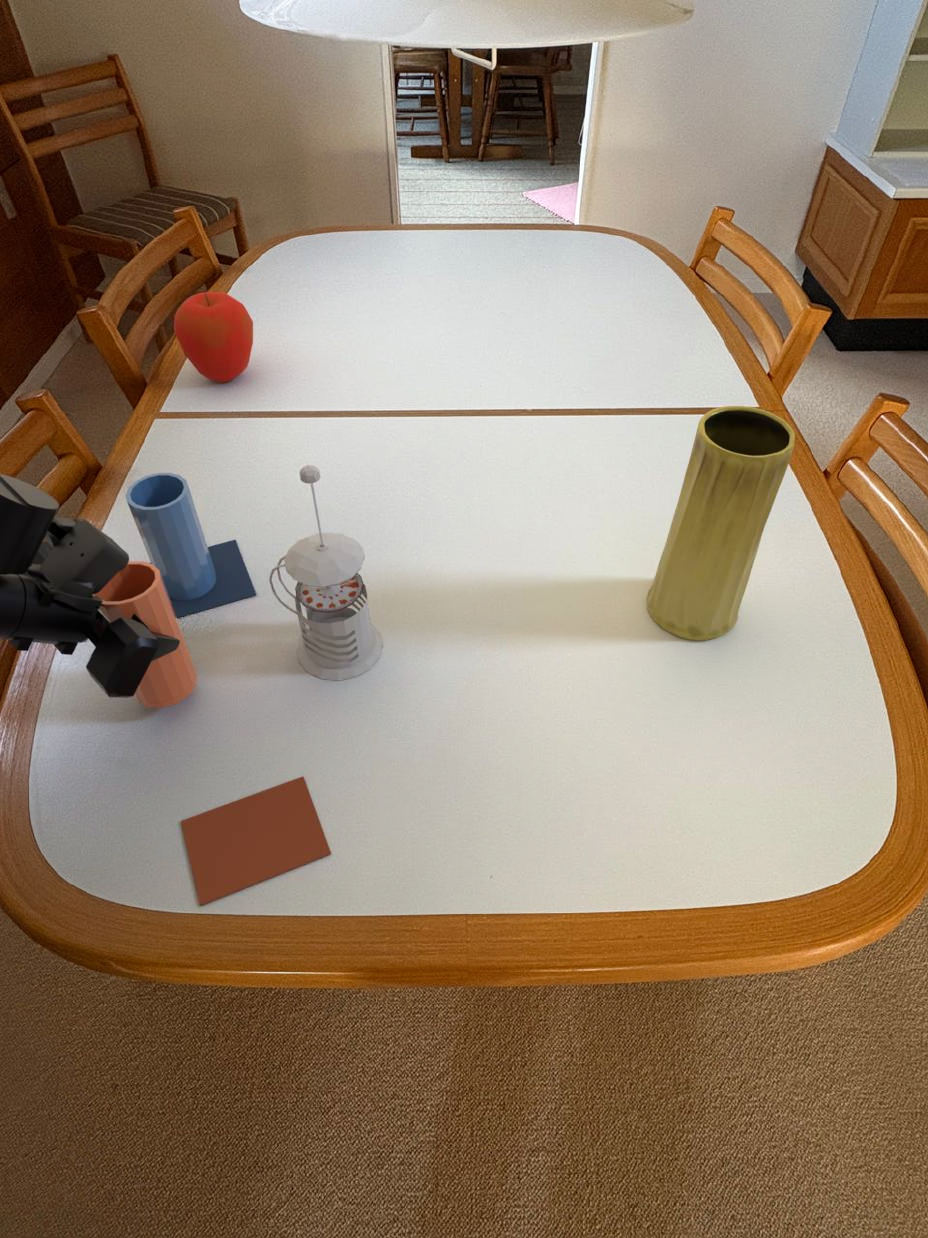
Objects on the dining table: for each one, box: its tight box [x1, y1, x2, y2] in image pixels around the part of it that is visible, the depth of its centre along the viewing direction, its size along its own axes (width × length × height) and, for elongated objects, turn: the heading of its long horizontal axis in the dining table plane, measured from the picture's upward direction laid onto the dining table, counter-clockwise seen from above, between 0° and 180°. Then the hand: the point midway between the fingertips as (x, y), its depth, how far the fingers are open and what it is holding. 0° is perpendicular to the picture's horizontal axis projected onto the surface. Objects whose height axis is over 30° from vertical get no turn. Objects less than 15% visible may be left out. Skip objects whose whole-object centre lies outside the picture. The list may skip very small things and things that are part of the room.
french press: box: [268, 464, 384, 682], centre depth 81 cm, size 10×12×25 cm
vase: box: [646, 405, 796, 641], centre depth 85 cm, size 11×11×25 cm
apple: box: [173, 291, 254, 384], centre depth 125 cm, size 12×12×14 cm
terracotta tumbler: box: [93, 560, 199, 709], centre depth 79 cm, size 7×7×14 cm
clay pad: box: [180, 775, 332, 907], centre depth 74 cm, size 12×9×1 cm
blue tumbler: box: [125, 472, 216, 601], centre depth 92 cm, size 7×7×14 cm
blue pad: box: [149, 539, 257, 619], centre depth 97 cm, size 14×11×1 cm
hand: (159, 626), depth 80 cm, fingers closed on terracotta tumbler, 7 cm apart
